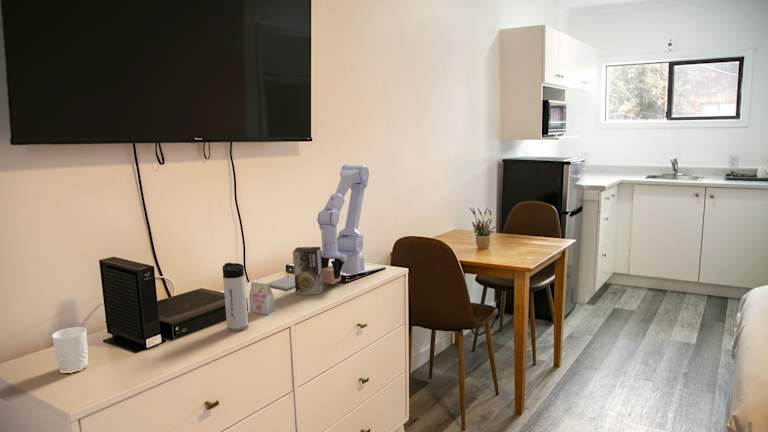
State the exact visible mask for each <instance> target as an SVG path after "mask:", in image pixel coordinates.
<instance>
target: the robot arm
mask: <svg viewBox="0 0 768 432" xmlns="http://www.w3.org/2000/svg"><path fill="white" fill-rule="evenodd" d="M339 174H340V180H339V182H338V185H337V188H336V190H335V193H332V194H331V195H330V196H329V199H328V200H327V203H326V204H325V206H324V208H323V209H322V210H320V211H319V212H318V214H317V217H316V218H317V219H316V221H317V224H318V226H319V227H318V228H319V230H320V233H321V235H320V236H321V249H322V250H321V264H322V269H323V268H326V267H328V266H330V265H329V263H331V266H333V270H334V277H335V279H338V278H340V272H342V273H346V274H356V273H359V272H361V271H365V257H364V254H363V253H362V251H363V248H364V236H363V234H362V233H361V232H360V231H359V225H360V224H359V223H360V219H361V214H362V213H361V212H362V207H363V201H364V195H365V190H366V188H367V187H368V184H369V177H370V171H369V168H368V167H367V165H366V164H361V165H360V164H343V165H342V167H341V168H340V172H339ZM349 189H351V190H350V197H349V203H348V207H347V215H346V220H345V224H344V225H345V226H344V228H343V229H342V230H340V231H339V232H338V230H337V229H338V228H337V226H338V224H339V222H340V216H341V213H340V212H341V211H342V209H343V206H344V204H345V201H346V200H345V196H346V194H347V192H348V191H349ZM330 259H331V261H330ZM365 272H366V271H365ZM358 277H359V276H357V277H356V278H358Z"/></svg>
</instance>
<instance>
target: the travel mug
mask: <svg viewBox="0 0 768 432" xmlns="http://www.w3.org/2000/svg"><path fill="white" fill-rule="evenodd" d="M222 282H223V294H224V304H225V306H224V307H225V318H226V329H227V330H228V331H229V332H232V331H238V332H242V331H241V330H243V331H245V330H247V329H248V328H249V318H248V306H247V305H248V303H247V293H246V290H247V289H246V279H245V268H244V265H243V264H242V263H238V262H237V263H236V262H235V263H234V262H226V263H224V265H223V266H222ZM244 329H245V330H244Z"/></svg>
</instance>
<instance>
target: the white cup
mask: <svg viewBox="0 0 768 432" xmlns="http://www.w3.org/2000/svg"><path fill="white" fill-rule="evenodd" d="M87 332H88V331H87V328H86V327H83V326H82V327H81V326H72V327H68V328H63V329H60V330H58V331H55V332H53V333H52V335H51V339H52V343H53V349H54V355H55V359H56V362H57V366H58V370H59V369H60V370H62V371H72V370H77V369H80V368H82V367H85V366H86V365H87V364H88V365H89V348H88V347H89V346H88V334H87Z"/></svg>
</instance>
